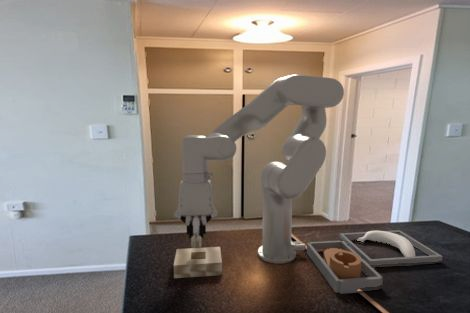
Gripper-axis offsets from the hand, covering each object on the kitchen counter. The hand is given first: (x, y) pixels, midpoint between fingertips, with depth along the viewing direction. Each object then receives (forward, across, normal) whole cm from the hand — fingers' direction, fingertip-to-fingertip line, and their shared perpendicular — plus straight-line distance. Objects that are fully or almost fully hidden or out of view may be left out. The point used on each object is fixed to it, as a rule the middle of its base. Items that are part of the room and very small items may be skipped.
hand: (196, 235), depth 87 cm
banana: (+9, -65, -3) cm, 65 cm away
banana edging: (+9, -65, -3) cm, 65 cm away
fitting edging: (+10, -44, +6) cm, 45 cm away
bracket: (+10, -44, +6) cm, 45 cm away
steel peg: (+3, 0, 0) cm, 3 cm away
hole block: (+10, -1, 0) cm, 11 cm away
